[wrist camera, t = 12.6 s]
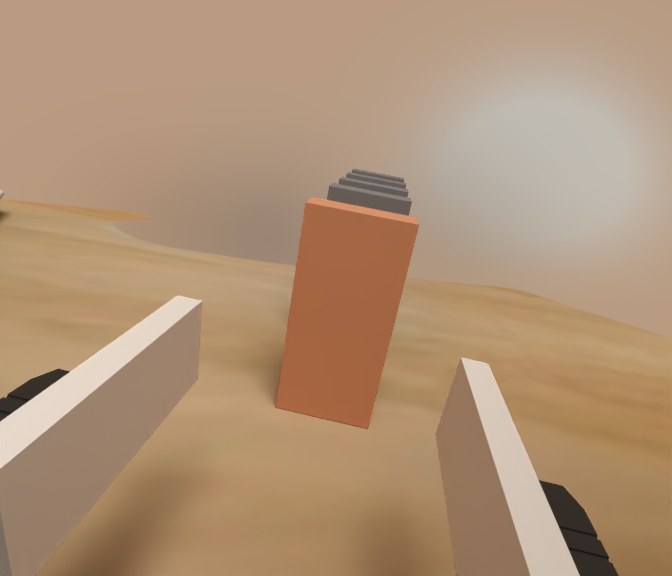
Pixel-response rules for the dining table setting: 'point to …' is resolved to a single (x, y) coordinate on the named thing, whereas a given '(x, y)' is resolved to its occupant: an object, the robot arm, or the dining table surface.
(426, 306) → the dining table surface
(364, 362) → the domino
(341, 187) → the domino
